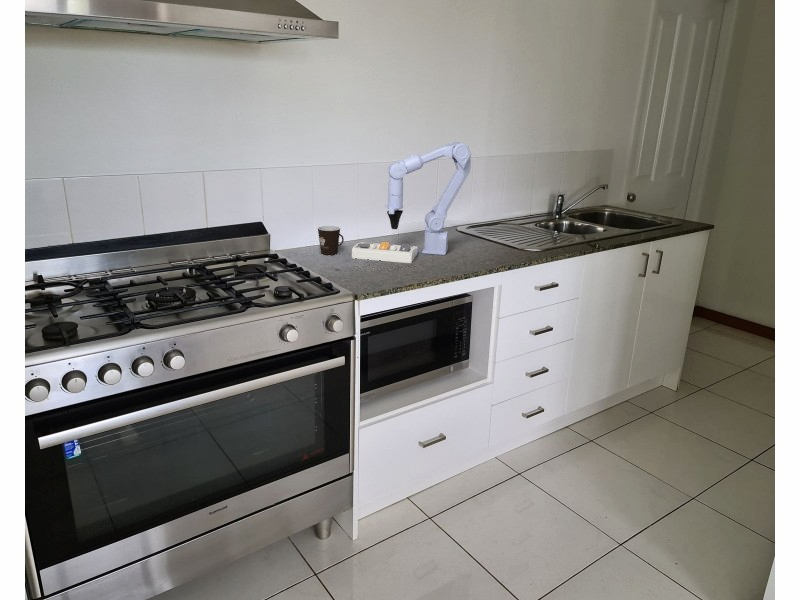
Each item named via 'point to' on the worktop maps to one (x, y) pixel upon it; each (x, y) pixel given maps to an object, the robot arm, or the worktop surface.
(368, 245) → the rocker
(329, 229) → the coffee mug
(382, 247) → the rocker middle
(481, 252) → the worktop surface
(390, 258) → the power strip
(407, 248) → the rocker
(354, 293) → the worktop surface
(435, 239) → the robot arm
